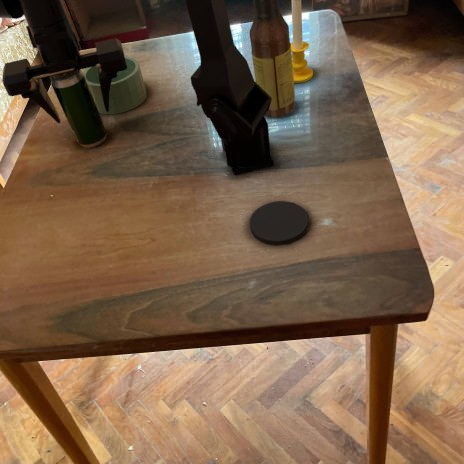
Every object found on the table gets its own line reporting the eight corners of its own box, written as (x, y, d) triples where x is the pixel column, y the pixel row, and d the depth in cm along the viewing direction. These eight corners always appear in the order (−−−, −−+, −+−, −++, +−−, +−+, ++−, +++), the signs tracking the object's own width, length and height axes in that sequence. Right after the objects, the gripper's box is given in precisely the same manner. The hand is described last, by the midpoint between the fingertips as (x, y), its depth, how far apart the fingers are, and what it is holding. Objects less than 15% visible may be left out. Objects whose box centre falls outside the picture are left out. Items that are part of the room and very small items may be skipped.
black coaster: (297, 199, 74) (297, 195, 73) (316, 236, 69) (316, 231, 68) (243, 213, 73) (243, 209, 73) (258, 251, 68) (258, 247, 68)
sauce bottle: (293, 97, 91) (288, -31, 75) (297, 116, 87) (292, -15, 71) (256, 102, 91) (243, -24, 76) (258, 122, 87) (245, -7, 72)
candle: (280, 81, 95) (274, -13, 83) (291, 67, 97) (287, -26, 85) (306, 84, 93) (304, -11, 81) (317, 70, 95) (317, -25, 83)
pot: (143, 79, 102) (135, 51, 98) (150, 105, 95) (142, 76, 91) (90, 92, 102) (80, 64, 97) (94, 119, 95) (83, 91, 91)
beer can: (85, 152, 88) (55, 85, 79) (73, 140, 92) (43, 74, 82) (112, 138, 90) (86, 71, 80) (100, 127, 93) (73, 60, 84)
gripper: (105, -16, 81) (132, 80, 93) (-14, 11, 80) (29, 104, 92) (112, 13, 74) (139, 112, 86) (-19, 42, 73) (28, 139, 85)
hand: (83, 116), depth 87 cm, fingers open, 8 cm apart
